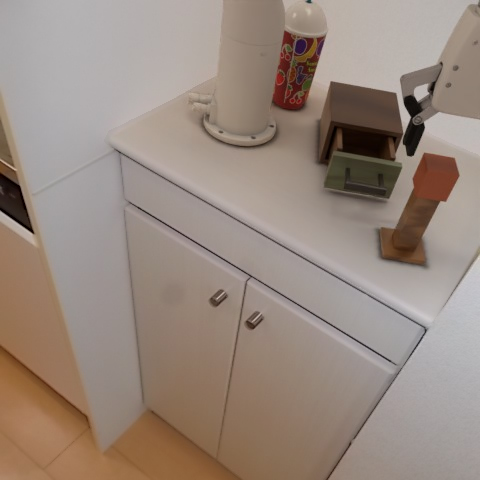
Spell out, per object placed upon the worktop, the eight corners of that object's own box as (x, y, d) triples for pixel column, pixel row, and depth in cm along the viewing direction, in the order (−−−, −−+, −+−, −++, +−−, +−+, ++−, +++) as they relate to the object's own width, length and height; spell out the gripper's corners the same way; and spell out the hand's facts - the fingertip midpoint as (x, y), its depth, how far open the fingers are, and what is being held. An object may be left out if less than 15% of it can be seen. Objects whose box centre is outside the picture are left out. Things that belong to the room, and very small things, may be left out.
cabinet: (387, 174, 87) (403, 133, 82) (318, 162, 87) (330, 120, 81) (381, 132, 96) (396, 92, 90) (319, 121, 96) (330, 80, 90)
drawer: (391, 218, 78) (405, 185, 74) (323, 206, 78) (333, 172, 74) (383, 155, 89) (395, 124, 85) (324, 144, 89) (332, 112, 85)
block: (415, 196, 67) (427, 169, 64) (412, 178, 69) (424, 152, 66) (446, 202, 67) (460, 175, 64) (441, 184, 69) (454, 157, 66)
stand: (382, 258, 73) (408, 200, 66) (379, 230, 77) (404, 173, 70) (423, 265, 74) (454, 208, 66) (419, 237, 78) (447, 180, 70)
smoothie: (307, 117, 96) (336, -3, 81) (263, 107, 97) (283, -15, 81) (312, 96, 102) (340, -20, 87) (270, 87, 102) (290, -31, 87)
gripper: (593, 4, 54) (509, 152, 67) (428, -25, 53) (375, 130, 66) (620, 32, 49) (524, 186, 62) (438, 0, 48) (379, 162, 61)
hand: (447, 157), depth 64 cm, fingers open, 9 cm apart
